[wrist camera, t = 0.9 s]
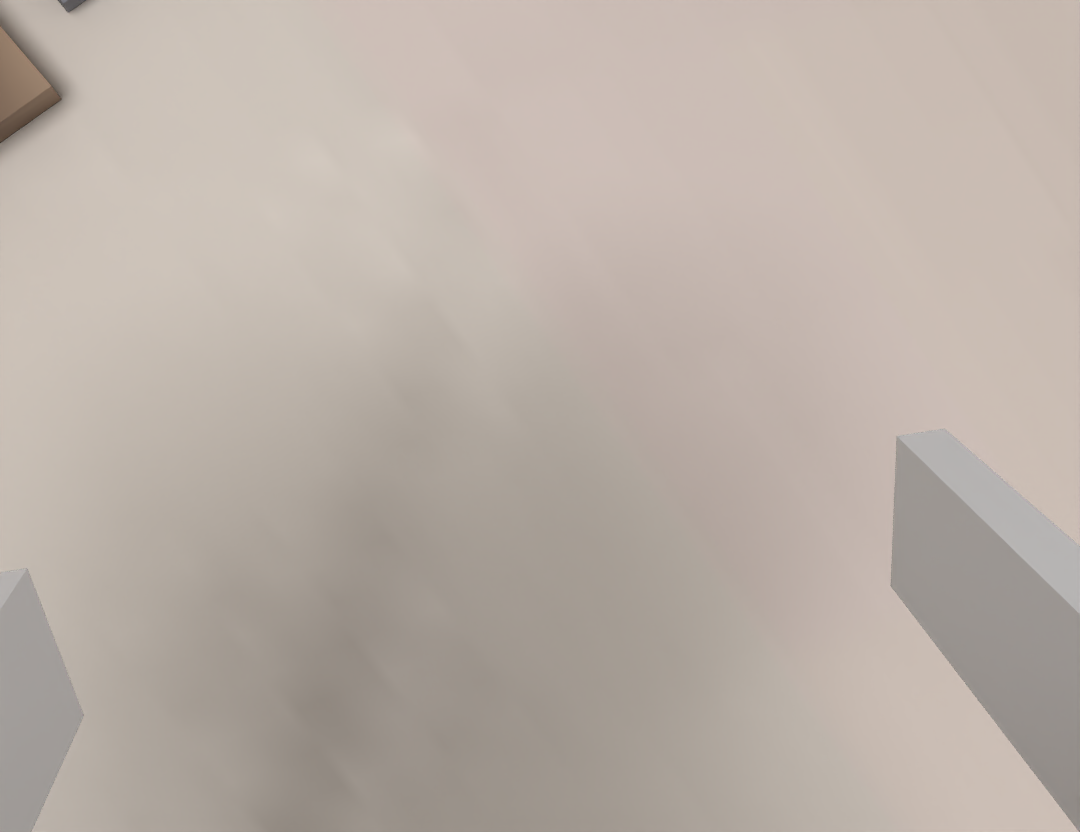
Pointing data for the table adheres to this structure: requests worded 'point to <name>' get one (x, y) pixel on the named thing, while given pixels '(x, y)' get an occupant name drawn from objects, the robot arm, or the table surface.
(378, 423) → the table surface
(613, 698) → the table surface
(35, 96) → the wooden base with post
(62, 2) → the pad
